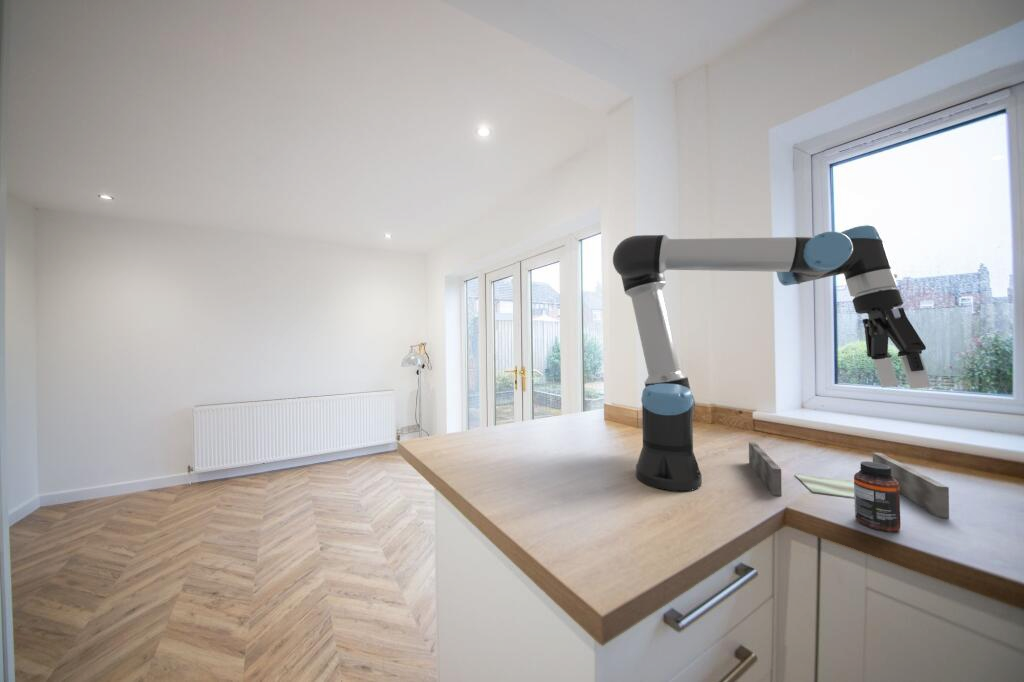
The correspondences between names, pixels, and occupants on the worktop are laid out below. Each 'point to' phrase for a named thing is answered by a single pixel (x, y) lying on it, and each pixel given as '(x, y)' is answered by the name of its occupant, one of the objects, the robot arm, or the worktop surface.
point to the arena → (909, 480)
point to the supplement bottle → (877, 497)
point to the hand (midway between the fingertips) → (904, 387)
